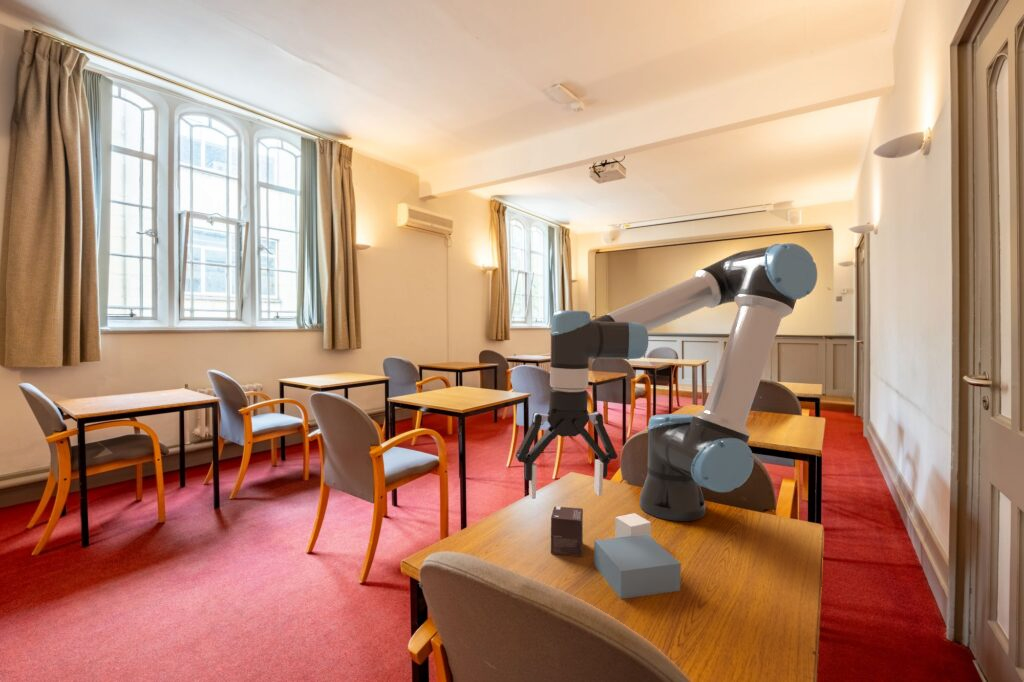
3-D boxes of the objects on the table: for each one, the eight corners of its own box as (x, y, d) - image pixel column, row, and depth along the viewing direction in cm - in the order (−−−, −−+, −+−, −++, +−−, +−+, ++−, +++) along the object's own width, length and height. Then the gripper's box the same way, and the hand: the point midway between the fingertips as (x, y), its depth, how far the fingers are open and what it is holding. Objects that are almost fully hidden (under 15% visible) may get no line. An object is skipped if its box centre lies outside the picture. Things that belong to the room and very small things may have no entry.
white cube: (634, 536, 99) (634, 513, 99) (650, 546, 95) (650, 522, 95) (615, 540, 97) (615, 517, 97) (630, 551, 93) (631, 526, 93)
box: (581, 557, 90) (581, 520, 90) (550, 554, 91) (550, 517, 91) (582, 543, 96) (583, 508, 96) (553, 540, 97) (554, 505, 97)
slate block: (647, 559, 90) (647, 534, 90) (680, 592, 79) (680, 563, 79) (593, 566, 88) (594, 540, 87) (620, 600, 77) (620, 571, 77)
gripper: (620, 386, 98) (617, 485, 99) (503, 386, 94) (501, 490, 95) (636, 391, 91) (632, 499, 92) (509, 391, 86) (507, 504, 87)
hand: (565, 494), depth 93 cm, fingers open, 13 cm apart
